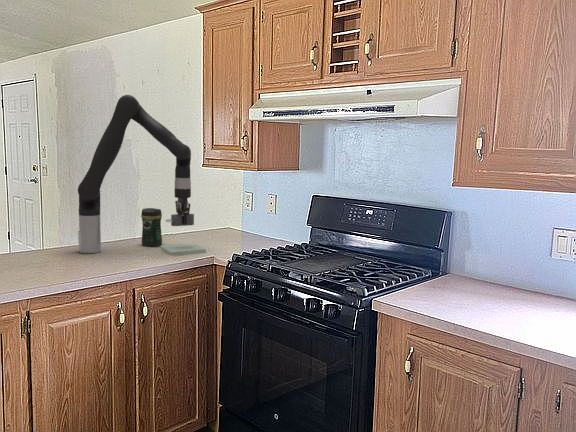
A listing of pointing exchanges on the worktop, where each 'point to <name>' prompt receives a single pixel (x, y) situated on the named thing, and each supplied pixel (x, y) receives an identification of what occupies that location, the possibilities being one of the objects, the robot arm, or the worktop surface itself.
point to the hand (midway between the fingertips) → (182, 223)
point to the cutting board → (182, 249)
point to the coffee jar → (151, 227)
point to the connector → (180, 220)
